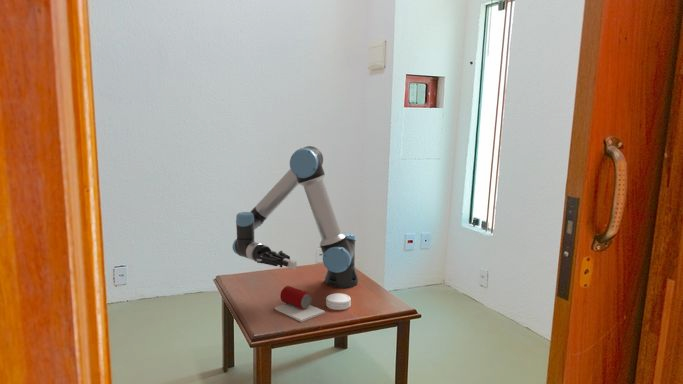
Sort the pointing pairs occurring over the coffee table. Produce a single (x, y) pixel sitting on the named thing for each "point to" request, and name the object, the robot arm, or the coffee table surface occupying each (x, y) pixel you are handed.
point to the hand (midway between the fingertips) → (295, 265)
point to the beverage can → (295, 297)
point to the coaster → (338, 301)
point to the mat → (299, 312)
